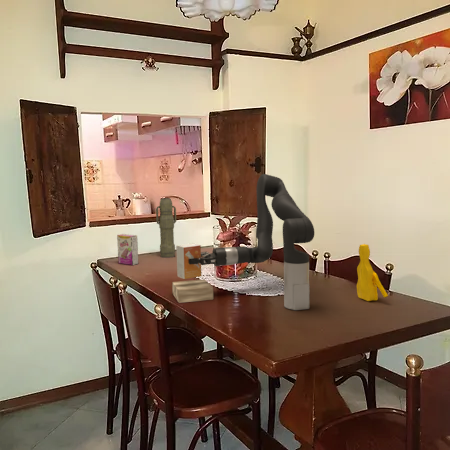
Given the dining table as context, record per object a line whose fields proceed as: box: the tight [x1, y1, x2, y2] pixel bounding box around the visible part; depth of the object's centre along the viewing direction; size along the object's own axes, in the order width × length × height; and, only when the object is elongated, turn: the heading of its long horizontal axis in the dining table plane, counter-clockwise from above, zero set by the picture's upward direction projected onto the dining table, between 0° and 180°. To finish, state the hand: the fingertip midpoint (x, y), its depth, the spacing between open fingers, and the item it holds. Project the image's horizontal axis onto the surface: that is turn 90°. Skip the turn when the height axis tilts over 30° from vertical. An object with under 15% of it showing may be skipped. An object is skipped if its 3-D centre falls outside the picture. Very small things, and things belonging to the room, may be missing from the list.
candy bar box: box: [116, 233, 139, 266], centre depth 257 cm, size 11×5×16 cm, turn 58°
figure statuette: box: [356, 243, 389, 302], centre depth 179 cm, size 18×8×22 cm, turn 23°
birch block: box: [171, 278, 214, 304], centre depth 189 cm, size 14×14×5 cm
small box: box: [175, 242, 202, 280], centre depth 187 cm, size 8×6×13 cm
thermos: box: [155, 197, 177, 259], centre depth 275 cm, size 9×12×35 cm
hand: (186, 259), depth 187 cm, fingers closed on small box, 8 cm apart
